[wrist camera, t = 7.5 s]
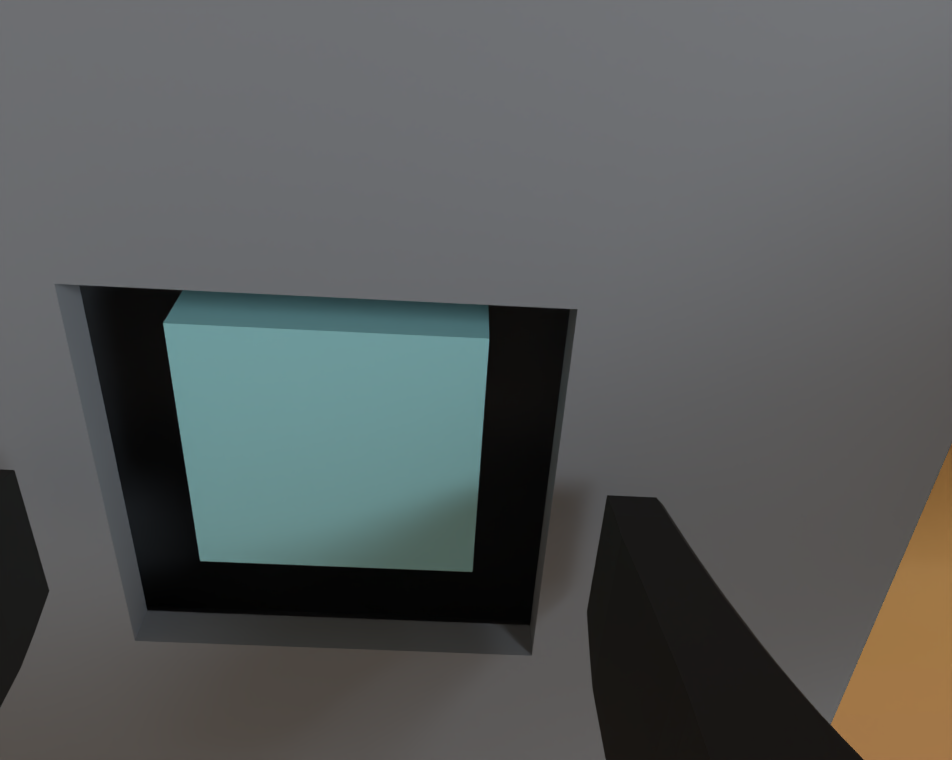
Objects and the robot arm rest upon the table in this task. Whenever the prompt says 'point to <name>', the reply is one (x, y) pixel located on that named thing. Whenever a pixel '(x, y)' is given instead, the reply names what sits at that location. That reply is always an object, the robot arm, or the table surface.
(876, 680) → the table surface
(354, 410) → the teal rectangular block
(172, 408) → the gray slotted box
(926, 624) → the table surface
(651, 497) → the robot arm
